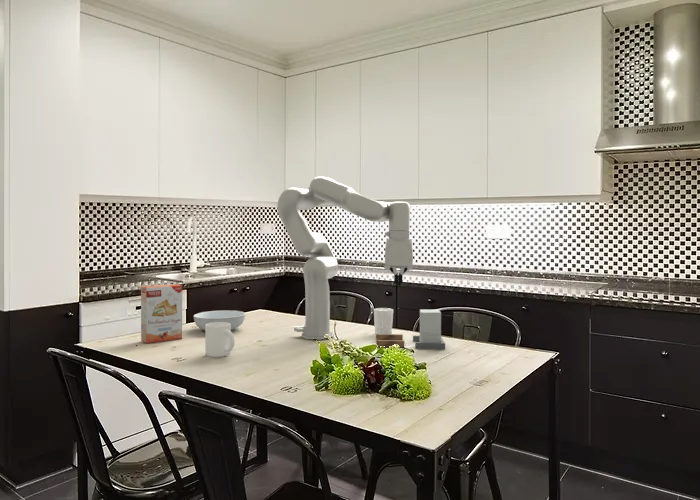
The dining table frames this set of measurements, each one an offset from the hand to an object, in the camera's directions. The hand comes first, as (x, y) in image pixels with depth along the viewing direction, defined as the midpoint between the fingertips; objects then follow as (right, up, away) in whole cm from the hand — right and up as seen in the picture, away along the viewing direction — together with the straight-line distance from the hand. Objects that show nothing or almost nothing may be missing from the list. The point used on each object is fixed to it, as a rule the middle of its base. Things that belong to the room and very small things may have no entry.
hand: (398, 285), depth 198 cm
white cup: (-4, -21, +20) cm, 30 cm away
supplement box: (+12, -22, +1) cm, 25 cm away
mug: (-61, -23, -18) cm, 67 cm away
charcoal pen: (+11, -22, 0) cm, 25 cm away
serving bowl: (-72, -21, +26) cm, 79 cm away
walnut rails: (-3, -22, +1) cm, 22 cm away
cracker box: (-89, -21, +6) cm, 92 cm away
